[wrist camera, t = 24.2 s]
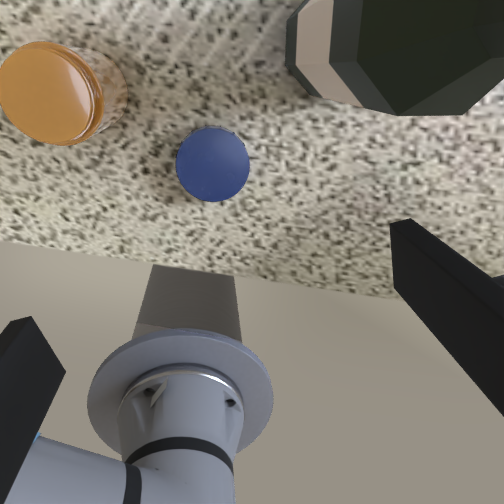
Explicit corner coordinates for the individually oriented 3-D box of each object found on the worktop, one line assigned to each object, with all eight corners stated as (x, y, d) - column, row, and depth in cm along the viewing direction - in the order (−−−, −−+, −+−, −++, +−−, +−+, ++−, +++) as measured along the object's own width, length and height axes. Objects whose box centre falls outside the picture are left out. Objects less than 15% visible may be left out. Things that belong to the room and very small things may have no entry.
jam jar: (122, 137, 32) (92, 161, 24) (47, 117, 31) (-13, 134, 22) (133, 62, 30) (104, 59, 21) (53, 37, 29) (-12, 23, 20)
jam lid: (249, 126, 33) (251, 129, 31) (246, 197, 36) (248, 202, 34) (175, 123, 32) (173, 126, 31) (178, 195, 35) (176, 201, 33)
